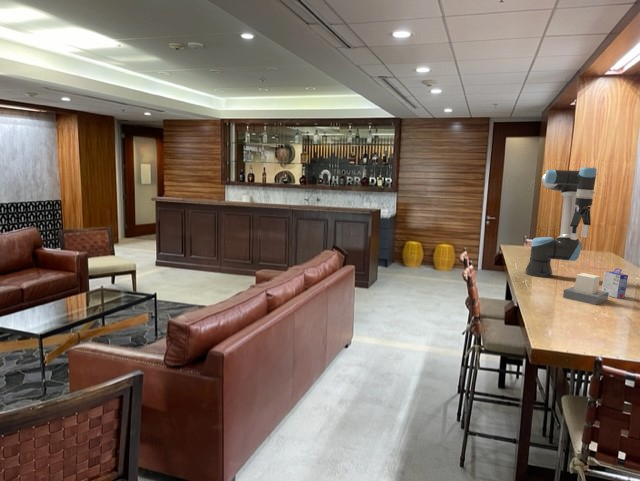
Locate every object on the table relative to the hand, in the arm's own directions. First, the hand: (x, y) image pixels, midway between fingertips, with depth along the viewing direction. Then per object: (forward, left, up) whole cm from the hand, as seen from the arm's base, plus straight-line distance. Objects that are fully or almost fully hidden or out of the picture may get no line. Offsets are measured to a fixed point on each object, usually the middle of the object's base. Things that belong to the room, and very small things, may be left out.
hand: (578, 238), depth 238 cm
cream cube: (+9, +10, -25) cm, 28 cm away
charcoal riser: (+9, +10, -29) cm, 32 cm away
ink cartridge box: (-11, +16, -29) cm, 35 cm away
